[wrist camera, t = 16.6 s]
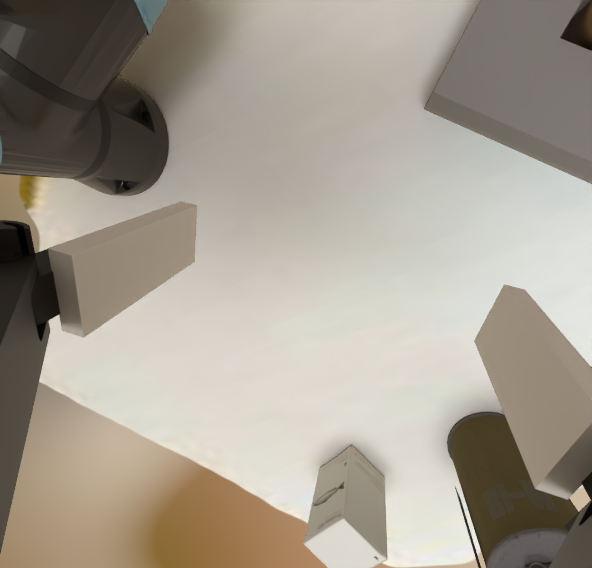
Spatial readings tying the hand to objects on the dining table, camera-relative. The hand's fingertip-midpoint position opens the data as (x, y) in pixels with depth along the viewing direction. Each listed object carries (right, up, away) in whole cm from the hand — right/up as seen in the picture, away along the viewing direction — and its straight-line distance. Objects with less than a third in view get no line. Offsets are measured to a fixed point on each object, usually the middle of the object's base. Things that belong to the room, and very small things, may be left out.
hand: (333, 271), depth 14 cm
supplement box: (+7, -30, +37) cm, 48 cm away
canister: (+25, -23, +32) cm, 46 cm away
